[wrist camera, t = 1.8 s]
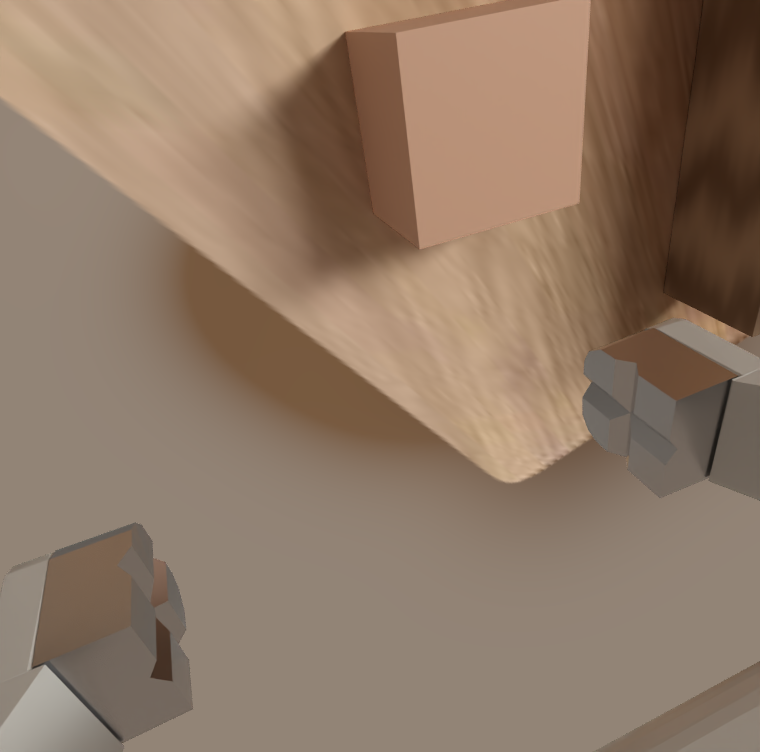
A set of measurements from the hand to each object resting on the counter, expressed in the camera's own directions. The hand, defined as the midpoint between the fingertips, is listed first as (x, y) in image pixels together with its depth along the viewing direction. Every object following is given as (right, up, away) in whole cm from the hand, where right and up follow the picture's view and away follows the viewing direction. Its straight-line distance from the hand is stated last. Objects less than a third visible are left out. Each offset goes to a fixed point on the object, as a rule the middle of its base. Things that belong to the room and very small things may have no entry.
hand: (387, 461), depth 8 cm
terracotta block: (+3, +14, +19) cm, 24 cm away
